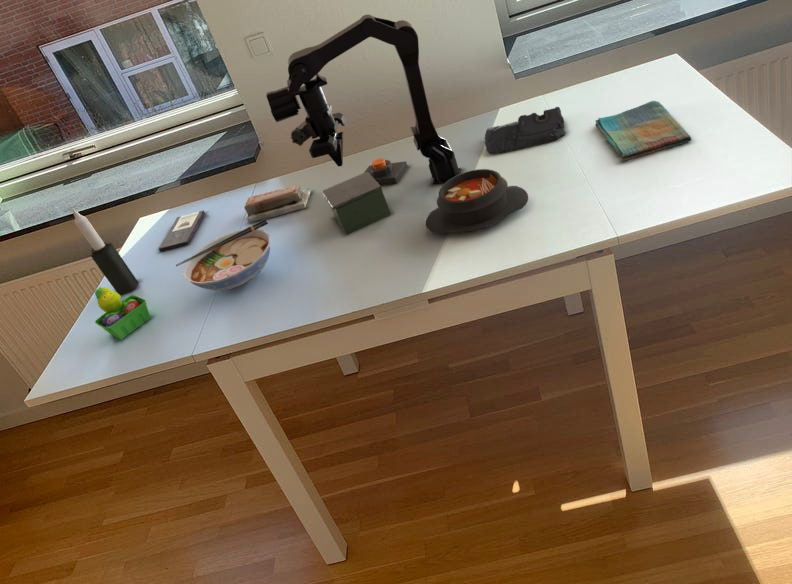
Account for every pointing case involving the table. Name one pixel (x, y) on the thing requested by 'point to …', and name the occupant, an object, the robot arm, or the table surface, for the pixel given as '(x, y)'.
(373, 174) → the pad
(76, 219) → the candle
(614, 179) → the table surface
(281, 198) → the packaged product
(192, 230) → the chocolate bar
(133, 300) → the fruit basket
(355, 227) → the dark green boxy piece
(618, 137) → the dish towel
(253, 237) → the ramen bowl
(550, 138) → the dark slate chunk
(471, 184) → the casserole
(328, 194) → the grey flat plate
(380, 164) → the button
